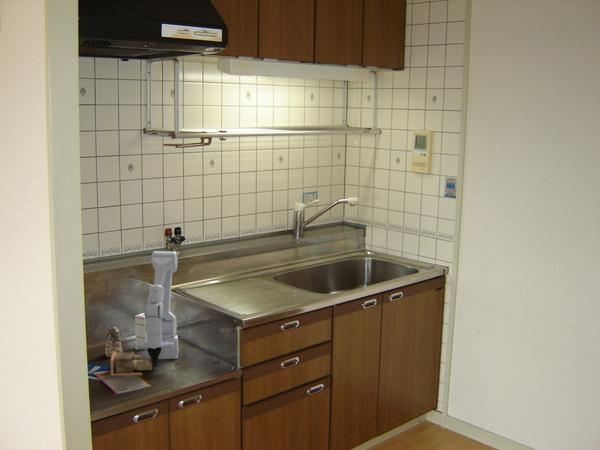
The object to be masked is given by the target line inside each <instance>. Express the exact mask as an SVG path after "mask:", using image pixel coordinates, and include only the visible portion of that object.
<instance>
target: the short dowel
mask: <svg viewBox="0 0 600 450" xmlns="http://www.w3.org/2000/svg"><path fill="white" fill-rule="evenodd" d="M135 360H142V355H141V354H135Z"/></svg>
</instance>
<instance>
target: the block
mask: <svg viewBox="0 0 600 450" xmlns="http://www.w3.org/2000/svg"><path fill="white" fill-rule="evenodd" d="M135 355H136V354H135V351H133V350H132V351H123V352H119V353H118V356H117V358H116V370H115V373H134V371H133V365H132V360H135Z"/></svg>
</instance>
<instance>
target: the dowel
mask: <svg viewBox="0 0 600 450" xmlns="http://www.w3.org/2000/svg"><path fill="white" fill-rule="evenodd" d="M132 365H133V372H135V371H136V372H137V371H138V372H139V371H152V369H153V363H152V360H151V359H141V360H132Z"/></svg>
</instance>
